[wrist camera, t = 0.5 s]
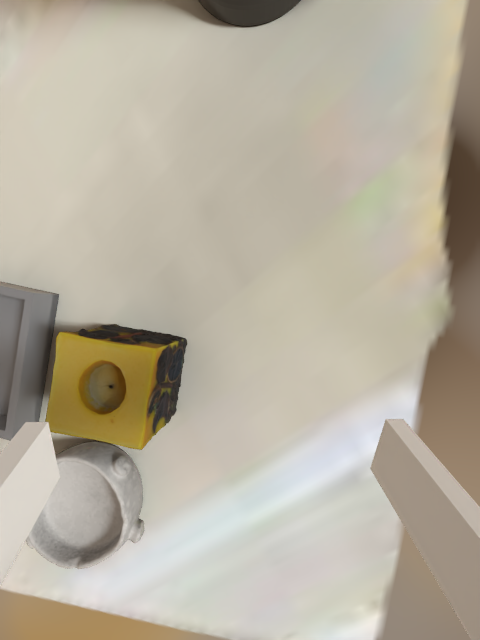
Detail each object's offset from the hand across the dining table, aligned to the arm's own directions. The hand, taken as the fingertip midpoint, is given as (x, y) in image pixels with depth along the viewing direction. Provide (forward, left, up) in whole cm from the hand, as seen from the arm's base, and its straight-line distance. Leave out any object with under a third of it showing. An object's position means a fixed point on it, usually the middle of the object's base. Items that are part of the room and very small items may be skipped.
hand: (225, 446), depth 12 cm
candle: (+5, -14, -24) cm, 28 cm away
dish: (+22, -17, -24) cm, 37 cm away
